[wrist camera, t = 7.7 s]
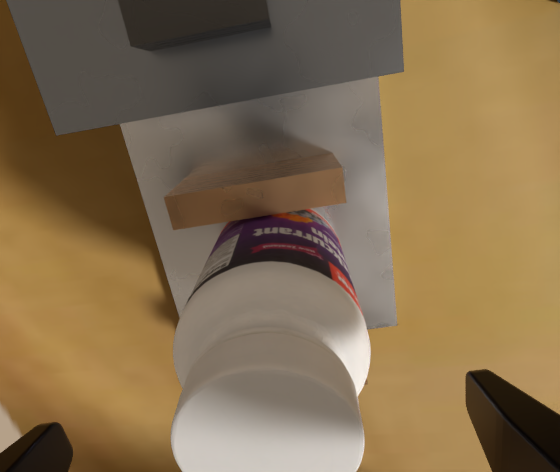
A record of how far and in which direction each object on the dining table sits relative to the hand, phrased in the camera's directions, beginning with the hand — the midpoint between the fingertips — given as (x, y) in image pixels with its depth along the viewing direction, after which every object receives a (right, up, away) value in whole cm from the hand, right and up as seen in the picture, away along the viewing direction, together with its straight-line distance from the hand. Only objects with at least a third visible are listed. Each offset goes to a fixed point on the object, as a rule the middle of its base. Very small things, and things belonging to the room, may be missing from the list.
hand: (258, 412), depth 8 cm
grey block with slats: (0, +6, +8) cm, 10 cm away
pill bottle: (0, +3, +9) cm, 9 cm away
